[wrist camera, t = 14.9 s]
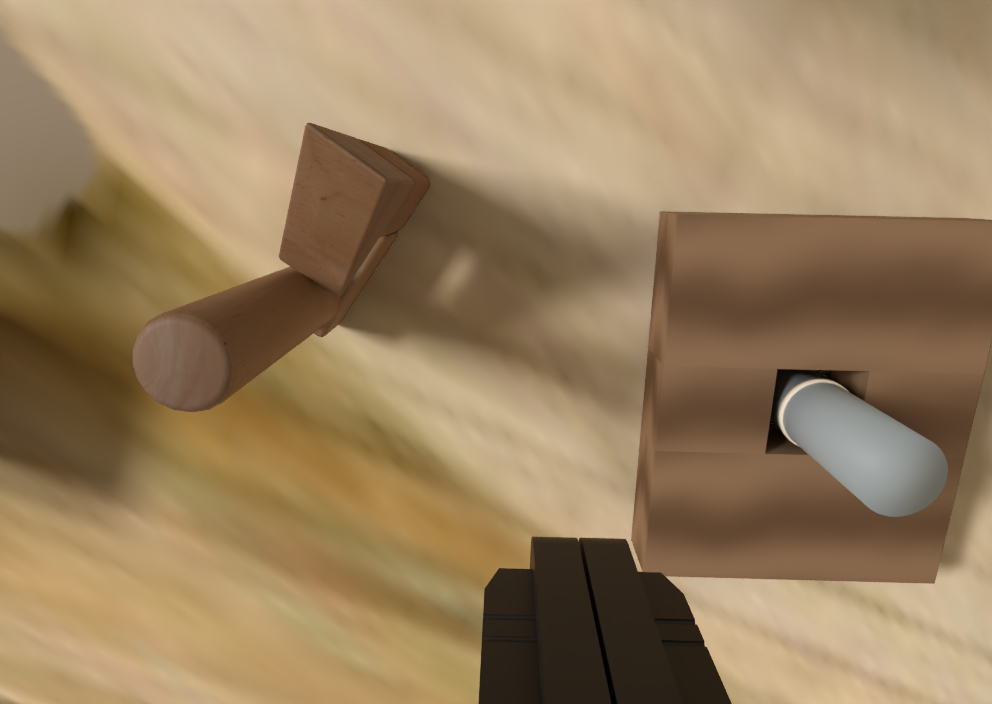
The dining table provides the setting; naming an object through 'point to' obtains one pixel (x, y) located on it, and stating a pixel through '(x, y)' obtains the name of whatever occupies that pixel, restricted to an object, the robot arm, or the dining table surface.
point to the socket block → (803, 346)
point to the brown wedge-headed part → (286, 276)
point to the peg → (858, 443)
